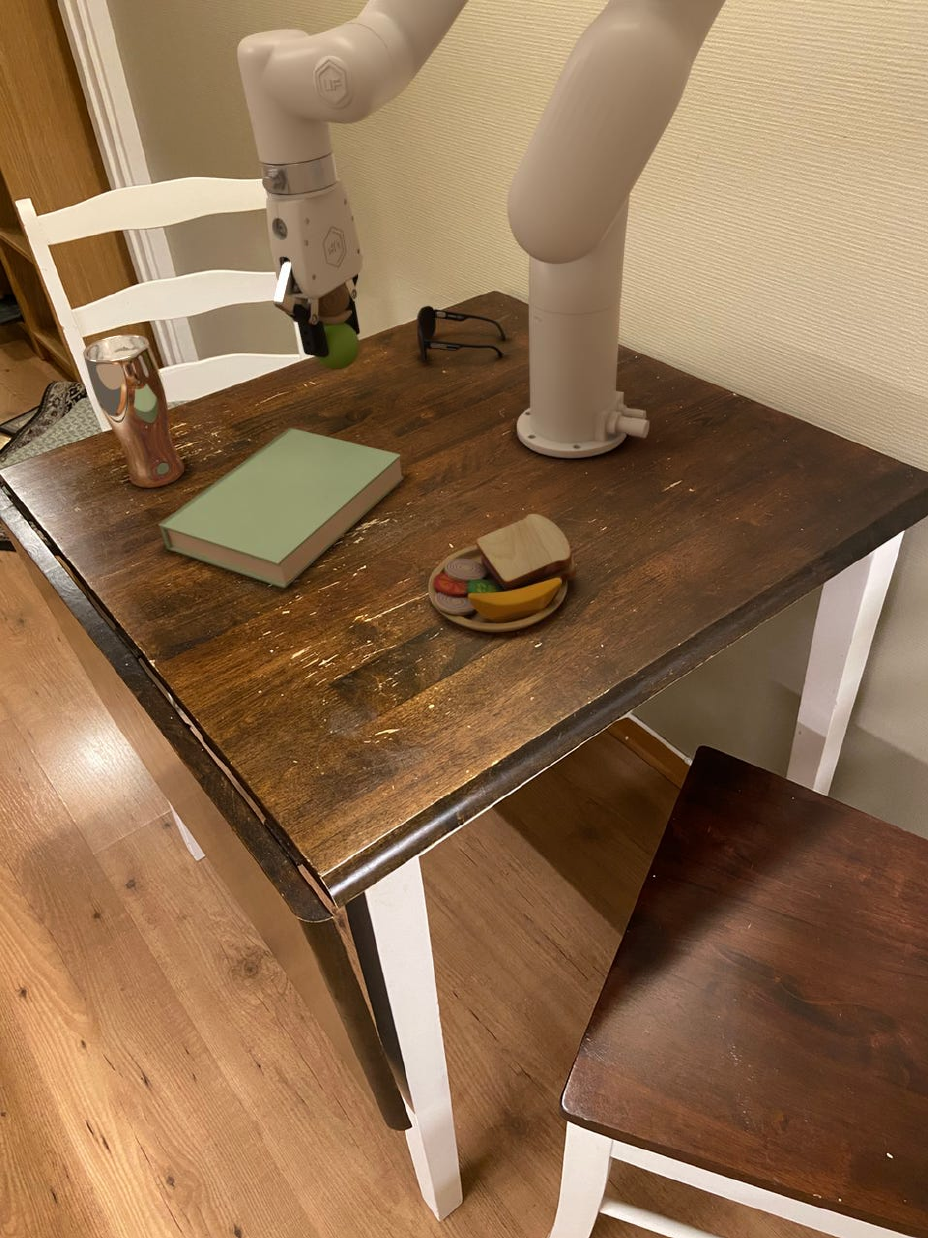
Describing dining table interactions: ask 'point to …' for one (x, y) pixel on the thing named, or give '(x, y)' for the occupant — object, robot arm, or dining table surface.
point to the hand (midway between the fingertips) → (332, 342)
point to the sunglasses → (428, 326)
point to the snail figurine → (337, 329)
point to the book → (283, 506)
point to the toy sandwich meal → (505, 577)
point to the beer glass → (135, 407)
